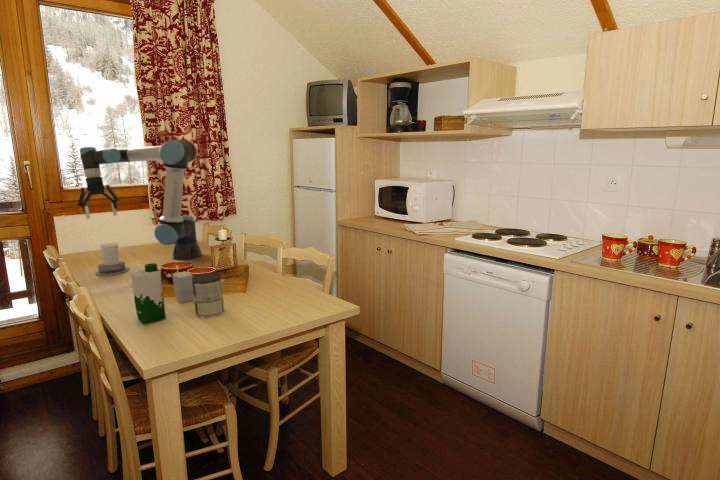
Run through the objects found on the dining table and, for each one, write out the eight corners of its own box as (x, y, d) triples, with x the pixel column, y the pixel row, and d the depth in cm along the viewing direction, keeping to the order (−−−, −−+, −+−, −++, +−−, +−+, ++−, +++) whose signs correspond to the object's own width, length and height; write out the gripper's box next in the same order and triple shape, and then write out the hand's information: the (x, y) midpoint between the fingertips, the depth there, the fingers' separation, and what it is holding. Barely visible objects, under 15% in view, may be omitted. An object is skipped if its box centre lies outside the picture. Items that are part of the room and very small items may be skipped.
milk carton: (169, 318, 164) (162, 265, 159) (143, 326, 157) (135, 271, 153) (159, 313, 170) (152, 261, 165) (134, 320, 164) (126, 266, 159)
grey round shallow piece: (133, 266, 237) (132, 259, 236) (121, 275, 222) (120, 267, 222) (104, 268, 236) (102, 261, 235) (89, 276, 221) (88, 268, 220)
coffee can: (190, 314, 167) (185, 277, 164) (214, 306, 175) (210, 271, 172) (205, 320, 161) (201, 282, 158) (230, 311, 169) (226, 275, 166)
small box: (196, 299, 183) (193, 274, 181) (182, 303, 180) (179, 277, 177) (188, 295, 189) (185, 270, 187) (175, 298, 186) (172, 273, 183)
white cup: (124, 261, 232) (121, 242, 230) (114, 265, 224) (111, 246, 222) (109, 261, 233) (106, 242, 231) (99, 266, 225) (96, 246, 223)
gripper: (121, 174, 244) (129, 213, 247) (71, 179, 241) (80, 219, 244) (115, 174, 236) (123, 214, 240) (64, 180, 233) (73, 220, 237)
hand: (102, 216), depth 242 cm, fingers open, 13 cm apart
